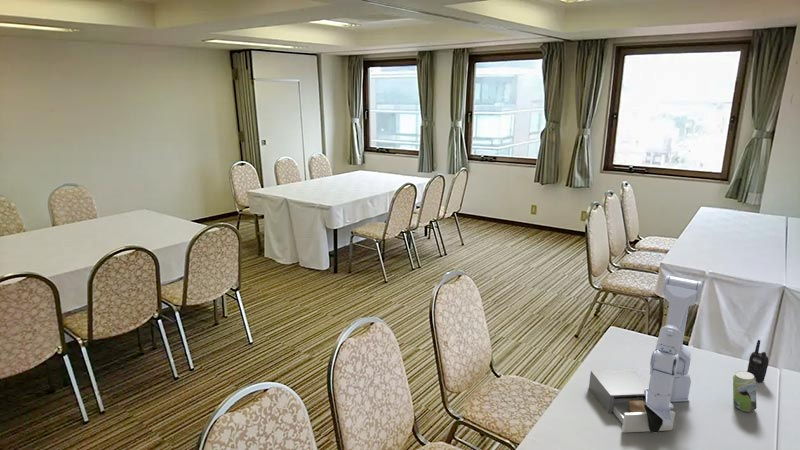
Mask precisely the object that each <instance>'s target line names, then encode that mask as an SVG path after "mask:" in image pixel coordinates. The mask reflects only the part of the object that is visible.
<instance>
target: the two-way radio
mask: <svg viewBox="0 0 800 450" xmlns="http://www.w3.org/2000/svg"><path fill="white" fill-rule="evenodd" d="M760 345H761V339H757V342H756V346H755V350H754V351H753V352H751V354H750V355H749V359H748V365H747V370H746V372H749V373H752V374H753V375H754V377H755V378H756V381H757V383H759V384H760V383H764V382H765V377H766V374H767V370H768V366H769V357H768V356H767V353H766V351H762V352H761V353H760V347H761V346H760Z"/></svg>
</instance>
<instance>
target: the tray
mask: <svg viewBox="0 0 800 450" xmlns="http://www.w3.org/2000/svg"><path fill="white" fill-rule="evenodd" d="M630 399H639V400H642V401H644V402H645V403H646V400H645V399H644V398H643V397H637V396H629V397H614V403H613V410H612V413H613V414H614V415H615V416H616V418H617V419H618V420H619V421H620V423H621V424H622V427H621V431H622V433H639V432H651V431H650V430H649V426H648V417H647V413H646V412H633V413H627V411H628V404H629V400H630ZM670 415H671V419H672V425H671V426H664V425H663V424H662V426H661V428H660V430H659V431H661V432H662V431H673V427H674V422H675V416H676V412H675V411H674V410H670ZM659 431H658V432H659Z"/></svg>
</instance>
